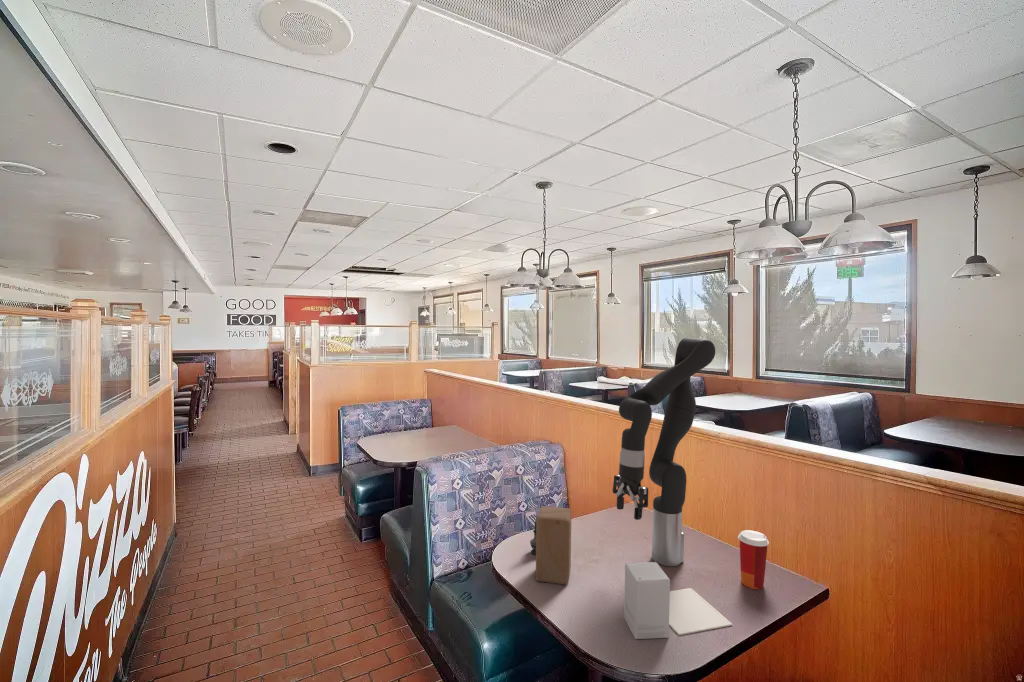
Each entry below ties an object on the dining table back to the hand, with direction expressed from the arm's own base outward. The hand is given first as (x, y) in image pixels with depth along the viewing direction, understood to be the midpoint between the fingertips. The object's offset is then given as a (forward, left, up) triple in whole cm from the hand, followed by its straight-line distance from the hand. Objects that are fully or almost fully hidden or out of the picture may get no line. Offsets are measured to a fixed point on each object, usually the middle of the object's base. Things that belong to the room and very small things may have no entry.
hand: (628, 513), depth 145 cm
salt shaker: (+23, -19, -19) cm, 36 cm away
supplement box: (+9, +25, -19) cm, 33 cm away
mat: (-6, +21, -19) cm, 29 cm away
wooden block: (+23, -4, -19) cm, 30 cm away
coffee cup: (-34, +15, -19) cm, 41 cm away
